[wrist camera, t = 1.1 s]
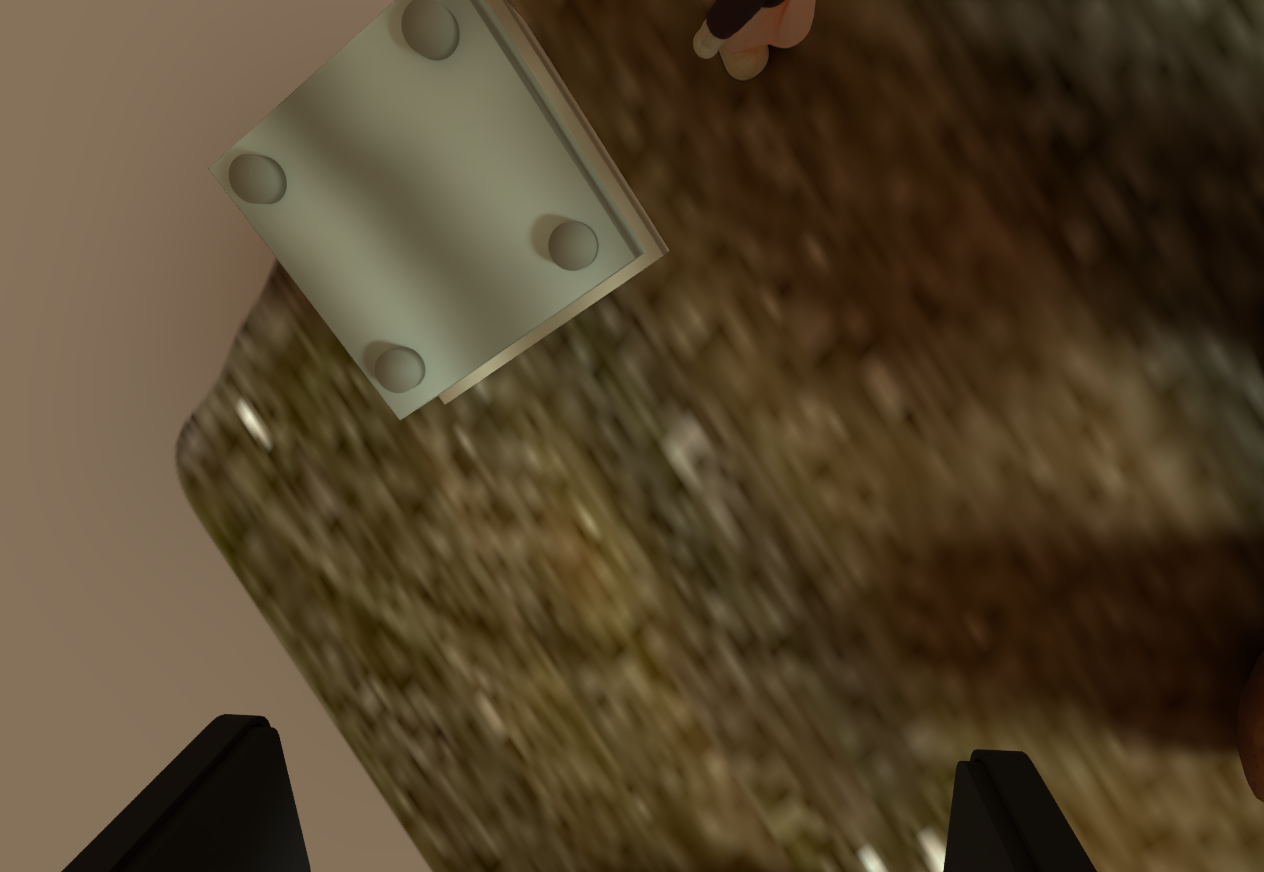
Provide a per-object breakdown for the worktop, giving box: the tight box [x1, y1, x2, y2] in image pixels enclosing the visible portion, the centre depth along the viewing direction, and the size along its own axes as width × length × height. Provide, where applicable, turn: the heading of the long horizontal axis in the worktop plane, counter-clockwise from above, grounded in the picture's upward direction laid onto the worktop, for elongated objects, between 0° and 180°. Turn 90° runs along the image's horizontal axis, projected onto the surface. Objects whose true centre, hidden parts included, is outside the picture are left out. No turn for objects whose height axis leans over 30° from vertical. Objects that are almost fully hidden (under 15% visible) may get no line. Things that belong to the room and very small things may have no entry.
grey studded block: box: [208, 0, 670, 420], centre depth 28 cm, size 12×12×11 cm
